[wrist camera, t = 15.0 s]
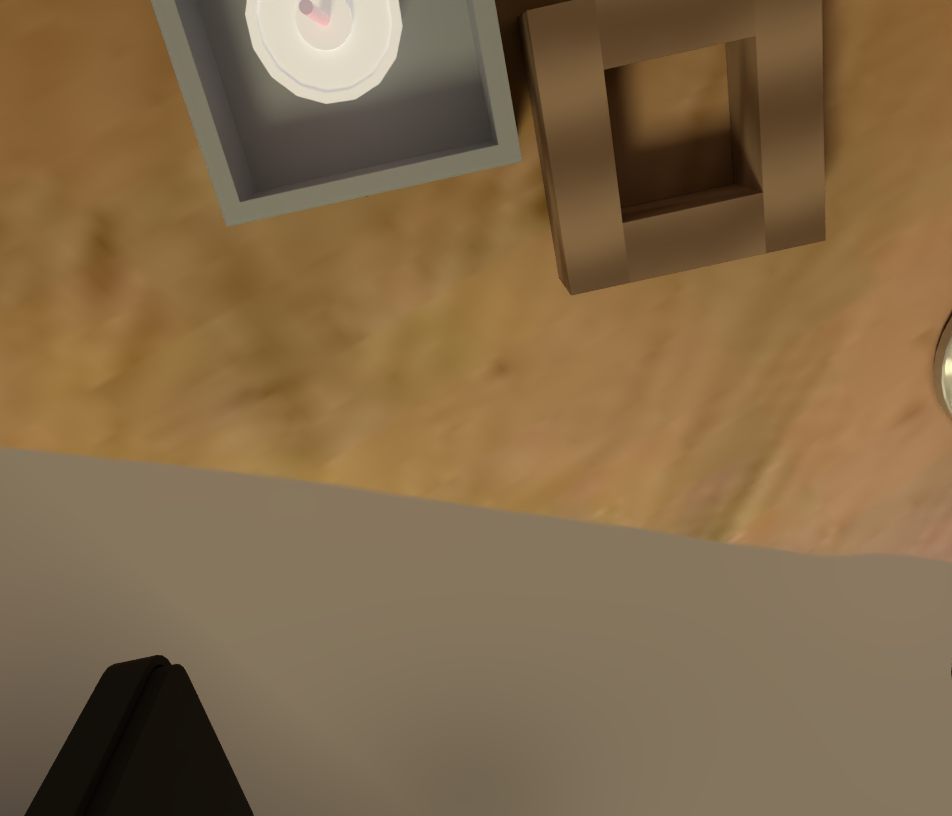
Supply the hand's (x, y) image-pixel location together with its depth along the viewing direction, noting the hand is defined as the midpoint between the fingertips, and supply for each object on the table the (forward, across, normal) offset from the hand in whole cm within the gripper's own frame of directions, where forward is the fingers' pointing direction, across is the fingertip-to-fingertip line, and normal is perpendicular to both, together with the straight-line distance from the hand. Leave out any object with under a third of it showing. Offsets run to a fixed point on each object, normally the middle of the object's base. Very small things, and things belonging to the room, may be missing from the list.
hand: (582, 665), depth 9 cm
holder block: (+36, -12, -2) cm, 38 cm away
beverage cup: (+36, +4, -10) cm, 37 cm away
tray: (+36, +4, -10) cm, 38 cm away
